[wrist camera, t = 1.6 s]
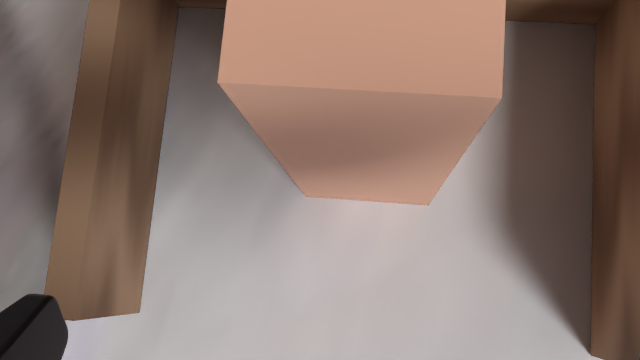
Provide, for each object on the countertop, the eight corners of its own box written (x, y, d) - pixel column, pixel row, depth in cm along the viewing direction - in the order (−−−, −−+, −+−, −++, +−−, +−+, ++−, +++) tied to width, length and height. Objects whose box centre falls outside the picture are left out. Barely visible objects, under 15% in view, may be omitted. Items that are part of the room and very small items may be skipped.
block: (428, 205, 22) (502, 98, 9) (305, 196, 23) (217, 82, 10) (434, 86, 23) (512, -163, 10) (316, 80, 23) (246, -166, 11)
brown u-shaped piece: (621, 358, 21) (698, 381, 16) (113, 310, 22) (40, 317, 18) (622, 0, 23) (691, -78, 18) (157, -18, 25) (104, -94, 20)
